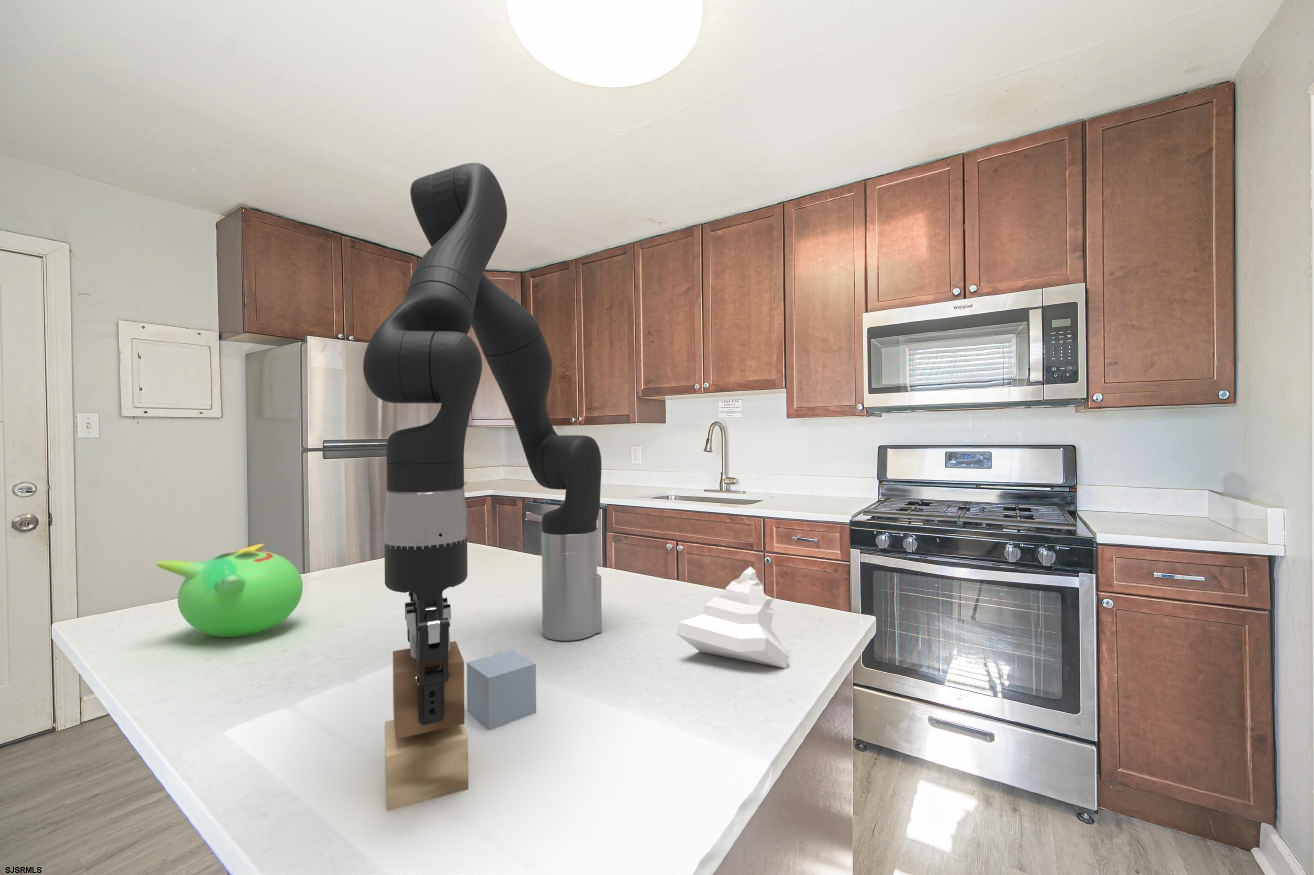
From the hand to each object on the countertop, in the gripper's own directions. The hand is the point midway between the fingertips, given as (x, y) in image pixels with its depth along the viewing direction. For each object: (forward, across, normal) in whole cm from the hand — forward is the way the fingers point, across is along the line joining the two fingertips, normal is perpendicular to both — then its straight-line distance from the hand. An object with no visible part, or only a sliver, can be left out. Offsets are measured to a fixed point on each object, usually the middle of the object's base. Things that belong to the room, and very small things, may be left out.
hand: (428, 706), depth 56 cm
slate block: (+7, +10, -9) cm, 15 cm away
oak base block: (+7, 0, 0) cm, 7 cm away
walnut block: (+1, 0, 0) cm, 1 cm away
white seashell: (+7, +11, -44) cm, 46 cm away
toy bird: (+7, +58, +25) cm, 64 cm away
